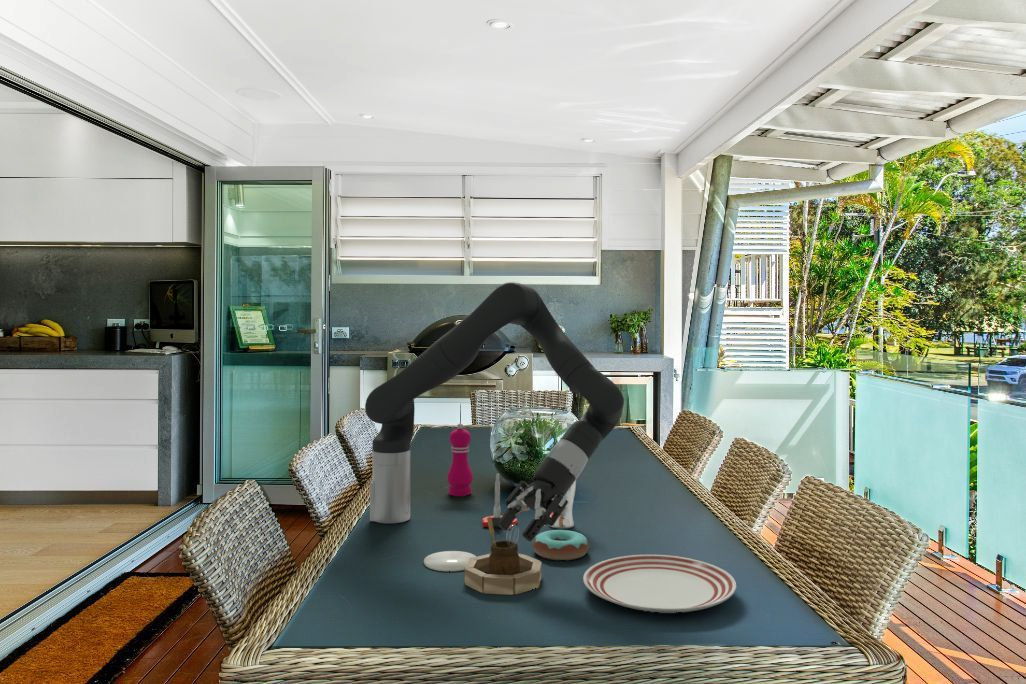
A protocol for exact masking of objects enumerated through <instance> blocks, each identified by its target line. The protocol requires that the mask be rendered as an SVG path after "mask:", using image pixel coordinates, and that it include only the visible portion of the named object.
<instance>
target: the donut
mask: <svg viewBox="0 0 1026 684" xmlns="http://www.w3.org/2000/svg"><path fill="white" fill-rule="evenodd" d="M532 541H533V542H532V548H533V551H534V552H535V554H537V555H538V556H539V557H541V558H542V559H543V558H544V559H546V558H547V559H546V560H550V559H551V560H552V561H559V560H566V561H573V559H574V560H578V559H580V558H582V557H584V556H585V555H586V554H587V553H588V550H589V547H590V545H589V541H588V539H587V537H586V536H585V535H583V534H582V533H579V532H577V531H573V530H568V529H552V530H547V531H546V530H545V531H543V532H540V533H537V535H536V536H535V537H534V538H533V540H532ZM577 558H578V559H577ZM551 560H550V561H551Z"/></svg>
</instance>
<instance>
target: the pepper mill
mask: <svg viewBox="0 0 1026 684" xmlns="http://www.w3.org/2000/svg"><path fill="white" fill-rule="evenodd" d="M471 440H472V436H471V433H470V432H469V431H468V430H466V429H464V424H463V423H457V426H456V429H454V430H452V431H451V432H450V433H449V442H450V444H451V445H452V446H451V449H450V450H451V452H452V462H451V466H450V468H449V470H448V472H447V479H446V480H447V483H448V484H449V485H450V486H449V487H448V495H449V496H452V495H453V497H466V496H465V495H468V496H470V495H471V494H472V487H471V486H470V485H471V484H472V482H473V480H474V476H473V471H472V469H471V467H470V464H469V460H468V452H470V449H469V448H470V446H469V444H470V442H471ZM469 494H470V495H469Z"/></svg>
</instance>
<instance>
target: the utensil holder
mask: <svg viewBox="0 0 1026 684" xmlns="http://www.w3.org/2000/svg"><path fill="white" fill-rule="evenodd" d="M490 516H491V515H489V517H488V516H487V517H488V518H487V521H488V526H489V527H488V531H489V534H490V535H491V536H492V537H491V538H492V541H493V542H492V543H491V544H490V553H491V554H490V553H489V554H490V556H489V572H488V574H493V575H515V574H519V573H521V572H520V559H519V555H518V554H519V553H518V550H519V547H518V544H517V542H516V541H518V539H519V538H516V539H515V537H519V534H520V530H519V526H517V524H515V525H510V526H511V529H510V528H509V527H510V526H509V527H508V529H507V530H506V531H507V532H506V540H498V541H496V539H495V535H494V533H495V528H493V525H492V520H491V517H490ZM513 529H518V530H517V531H518V532H517V534H516V532H514V534H513V533H512V532H513V531H512V530H513ZM509 530H510V531H509ZM509 532H510V534H509ZM508 534H509V536H508ZM511 534H513V535H514V537H513V538H512V540H513V541H511V540H508V538H509V539H511V537H512V536H511ZM516 535H517V536H516Z"/></svg>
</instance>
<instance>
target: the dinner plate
mask: <svg viewBox="0 0 1026 684" xmlns="http://www.w3.org/2000/svg"><path fill="white" fill-rule="evenodd" d="M582 578H583V579H582V581H583V583H584V586H585V587H586V588H587V590H588V591H589V592H591V593H592V594H594V595H595V596H597V597H599V598H601V599H603V600H605V601H608V602H610V603H612V604H613V603H614V604H616V605H619V606H621V607H624V608H629V609H632V610H637V611H641V610H643V611H642V612H647V611H650V612H649V613H654V612H659V613H658V614H679V613H678V612H682V613H690V612H695V611H701V610H704V609H709V608H712V607H715V606H718V605H720V604H722V603H724V602H725V601H727V600H728V599H730V598H731V597H732V596H733V595H734V593H736V590H737V583H736V580H735V578H734V576H733V575H731V573H729V572H728V571H726V570H725V569H723V568H721V567H719V566H716V565H714V564H712V563H708V562H705V561H702V560H697V559H694V558H689V557H684V556H683V557H682V556H677V555H668V554H631V555H624V556H617V557H613V558H609V559H605V560H602V561H599V562H597V563H595V564H593V565H591V566H590V567H588V568H587V570H585V572H584V573H583V577H582ZM676 612H677V613H676Z"/></svg>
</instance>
